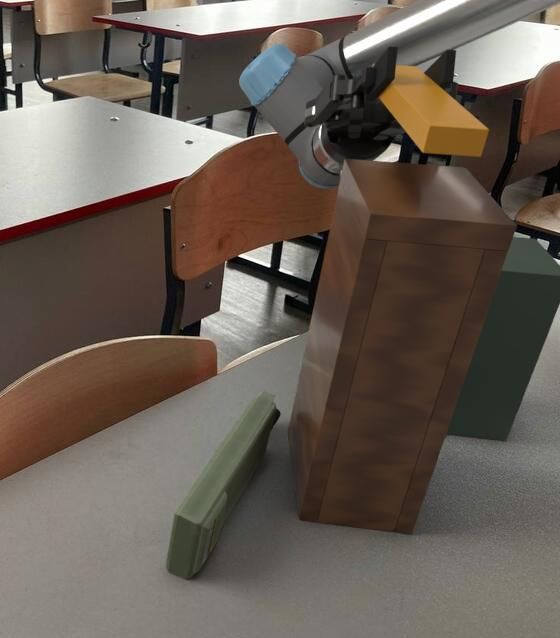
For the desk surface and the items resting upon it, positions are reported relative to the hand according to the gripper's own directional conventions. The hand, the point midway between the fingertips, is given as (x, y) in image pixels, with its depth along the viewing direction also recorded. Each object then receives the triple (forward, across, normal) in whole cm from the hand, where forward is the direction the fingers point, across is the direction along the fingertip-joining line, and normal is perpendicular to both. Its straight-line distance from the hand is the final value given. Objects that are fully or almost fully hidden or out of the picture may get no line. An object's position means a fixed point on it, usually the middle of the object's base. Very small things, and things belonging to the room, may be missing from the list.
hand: (420, 64), depth 64 cm
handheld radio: (-8, +11, -39) cm, 41 cm away
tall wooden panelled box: (-11, 0, -37) cm, 39 cm away
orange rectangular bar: (0, 0, -4) cm, 4 cm away
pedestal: (-23, -13, -30) cm, 40 cm away
